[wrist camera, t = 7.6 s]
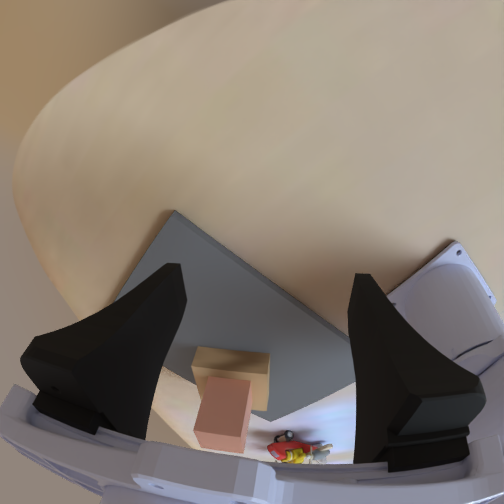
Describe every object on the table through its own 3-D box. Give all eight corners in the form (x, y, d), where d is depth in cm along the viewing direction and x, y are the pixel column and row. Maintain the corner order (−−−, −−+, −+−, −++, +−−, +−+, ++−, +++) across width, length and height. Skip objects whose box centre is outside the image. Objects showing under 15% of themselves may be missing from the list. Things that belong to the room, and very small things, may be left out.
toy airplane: (267, 428, 40) (262, 467, 34) (332, 425, 37) (332, 466, 32) (279, 450, 44) (275, 484, 39) (335, 448, 42) (334, 483, 37)
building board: (381, 360, 29) (382, 367, 28) (271, 416, 37) (270, 422, 36) (175, 210, 23) (170, 216, 22) (103, 319, 31) (99, 325, 31)
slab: (270, 353, 29) (267, 374, 27) (269, 392, 33) (266, 411, 31) (197, 346, 30) (191, 365, 28) (207, 385, 34) (202, 403, 31)
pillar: (250, 380, 28) (240, 437, 23) (252, 402, 30) (243, 453, 25) (208, 376, 28) (193, 430, 23) (213, 397, 30) (201, 447, 25)
